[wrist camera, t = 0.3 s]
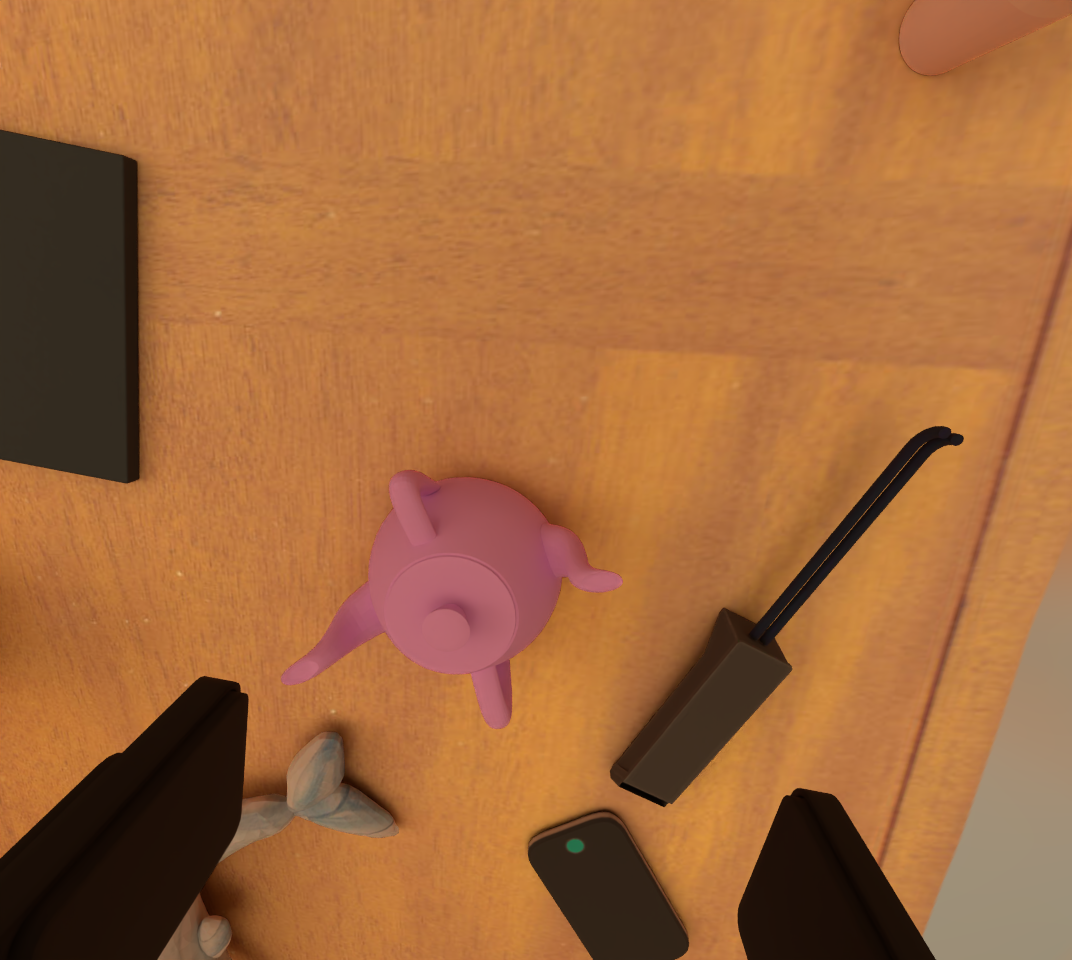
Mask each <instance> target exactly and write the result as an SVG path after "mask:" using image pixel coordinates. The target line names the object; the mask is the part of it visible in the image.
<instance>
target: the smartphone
mask: <svg viewBox="0 0 1072 960" xmlns="http://www.w3.org/2000/svg"><path fill="white" fill-rule="evenodd" d="M528 857H529V861H530V863H531V865H532V867H533V868H534V870H535V871H536V873H537V874H538V876H539V877H540V879H541V880H542V882H543V884H544V885H545V887H546V888H547V890H548V891H549V893H550V894H551V896H552V897H553V899H554V900H555V902H556V903H557V905H558V906H559V908H560V909H561V911H562V913H563V914H564V916H565V917H566V919H567V920H568V922H569V923H570V925H571V926H572V928H573V929H574V931H575V932H576V934H577V935H578V937H579V939H580V940H581V942H582V943H583V945H584V946H585V948H586V949H587V951H588V952H589V954H590V955H591V957H592V958H593V960H675V959H677V958H679V957H681V956H683V955H684V954H685V953H686V952H687V950H688V947H689V940H688V935H687V932H686V929H685V927H684V925H683V924H682V922H681V920H680V919H679V917H678V915H677V914H676V912H675V910H674V908H673V907H672V905H671V903H670V902H669V900H668V898H667V896H666V895H665V893H664V891H663V890H662V888H661V886H660V884H659V883H658V881H657V879H656V878H655V876H654V874H653V872H652V871H651V869H650V867H649V866H648V864H647V862H646V860H645V859H644V857H643V855H642V854H641V852H640V850H639V849H638V847H637V845H636V843H635V842H634V840H633V838H632V837H631V835H630V833H629V831H628V830H627V828H626V826H625V825H624V823H623V822H622V821H621V820H620V819H619V818H618V817H617V816H616V815H614V814H612V813H609V812H596V813H592V814H589V815H586V816H584V817H581V818H578V819H576V820H573V821H570V822H568V823H565V824H562V825H560V826H557V827H555V828H552V829H549V830H547V831H544V832H542V833H540V834H538V835H536V836H535V837H533V838H532V840H531V841H530V842H529V846H528Z"/></svg>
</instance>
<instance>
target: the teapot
mask: <svg viewBox="0 0 1072 960" xmlns="http://www.w3.org/2000/svg"><path fill="white" fill-rule="evenodd" d="M389 493H390V498H391V501H392V505H393V507H394V508H393V509H392V510H391V512H390V513H389V515H388V516H387V517H386V519H385V520H384V522H383V523H382V525H381V527H380V529H379V531H378V533H377V535H376V538H375V541H374V544H373V547H372V551H371V556H370V562H369V573H368V579H369V581H367V582H366V583H365V584H364V585H362V586H361V587H360V588H359V589H357V590H356V591H355V592H354V593H353V594H352V595H350V596H349V597H348V599H347V600H346V601H345V602H344V603H343V604H342V606H341V607H340V608H339V610H338V612H337V613H336V615H335V617H334V619H333V620H332V622H331V624H330V626H329V628H328V629H327V631H326V633H325V634H324V636H323V637H322V639H321V640H320V641H319V643H318V644H317V645H316V646H315V647H314V648H313V649H312V650H311V651H310V652H309V653H308V654H307V655H305V656H304V657H302V658H301V659H300V660H298V661H297V662H295V663H294V664H293V665H291V666H290V667H289V668H288V669H287V670H286V671H285V672H284V673H283V675H282V677H281V681H282V683H284V684H286V685H295V684H299V683H302V682H305V681H307V680H309V679H311V678H313V677H315V676H317V675H318V674H320V673H321V672H323V671H324V670H325V669H327V668H328V667H330V666H331V665H332V664H334V663H335V662H337V661H338V660H339V659H341V658H342V657H343V656H345V655H346V654H348V653H349V652H351V651H352V650H353V649H355V648H357V647H358V646H360V645H361V644H363V643H365V642H366V641H368V640H370V639H372V638H374V637H375V636H377V635H379V634H381V633H383V632H386V634H387V635H388V637H389V638H390V639H391V641H392V642H393V644H394V645H395V646H396V647H397V648H398V649H399V650H400V651H401V652H402V653H403V654H404V655H405V656H406V657H408V658H409V659H410V660H412V661H413V662H415V663H417V664H418V665H420V666H422V667H424V668H427V669H429V670H432V671H436V672H440V673H447V674H468V673H471V676H472V680H473V684H474V688H475V692H476V696H477V699H478V703H479V706H480V709H481V712H482V715H483V717H484V719H485V721H486V723H487V724H488V725H489V726H490V727H491V728H494V729H501V728H504V727H505V726H507V725H508V723H509V721H510V719H511V714H512V686H511V673H510V660H509V659H510V658H512V657H514V656H515V655H517V654H518V653H520V652H521V651H523V650H524V649H525V648H526V647H527V646H528V645H529V644H530V643H531V642H532V641H533V640H534V639H535V638H536V637H537V636H538V635H539V633H540V632H541V631H542V630H543V628H544V627H545V625H546V623H547V622H548V620H549V618H550V617H551V614H552V612H553V610H554V608H555V606H556V603H557V600H558V596H559V593H560V589H561V582H562V577H568V578H569V580H570V582H571V583H572V584H573V585H574V586H575V587H577V588H579V589H581V590H584V591H588V592H607V591H611V590H614V589H617V588H618V587H620V586H621V585H622V583H623V580H622V578H621V576H619V575H618V574H616V573H613V572H610V571H606V570H600V569H596V568H593V567H592V566H590V564H589V563H588V559H587V555H586V552H585V549H584V547H583V544H582V543H581V541H580V539H579V538H578V537H577V535H576V534H575V533H573V532H572V531H571V530H569V529H567V528H565V527H562V526H559V525H553V524H549V523H548V521H547V519H546V518H545V516H544V515H543V514H542V513H541V512H540V510H539V509H538V508H537V507H536V506H535V505H534V504H533V503H532V502H531V501H529V500H528V499H527V498H526V497H524V496H523V495H521V494H520V493H519V492H517V491H515V490H513V489H511V488H509V487H508V486H505V485H502V484H500V483H497V482H494V481H490V480H486V479H481V478H473V477H456V478H448V479H443V480H439V481H436V482H435V481H434V480H432V479H431V478H429V477H427V476H426V475H424V474H422V473H421V472H418V471H415V470H405V471H401V472H398V473H396V474H395V475H394V476H393V477H392V478H391V480H390V483H389Z"/></svg>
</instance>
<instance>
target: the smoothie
mask: <svg viewBox="0 0 1072 960" xmlns="http://www.w3.org/2000/svg"><path fill="white" fill-rule="evenodd" d="M1071 14H1072V0H915V1H914V2H913V4H912V5H911V6H910V8H909V9H908V11H907V12H906V14H905V16H904V19H903V21H902V24H901V28H900V34H899V45H900V51H901V54H902V57H903V59H904V61H905V62H906V64H907V65H908V66H909V67H910V68H911V69H912V70H914V71H915V72H917V73H919V74H922V75H928V76H933V75H939V74H942V73H945V72H947V71H950V70H952V69H954V68H956V67H958V66H960V65H963V64H965V63H967V62H969V61H971V60H973V59H976V58H978V57H980V56H982V55H984V54H986V53H989V52H991V51H993V50H995V49H997V48H999V47H1002V46H1004V45H1006V44H1008V43H1010V42H1012V41H1015V40H1017V39H1019V38H1021V37H1023V36H1025V35H1028V34H1030V33H1032V32H1034V31H1036V30H1038V29H1041V28H1043V27H1045V26H1047V25H1049V24H1051V23H1054V22H1056V21H1058V20H1060V19H1062V18H1064V17H1067V16H1069V15H1071Z"/></svg>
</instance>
